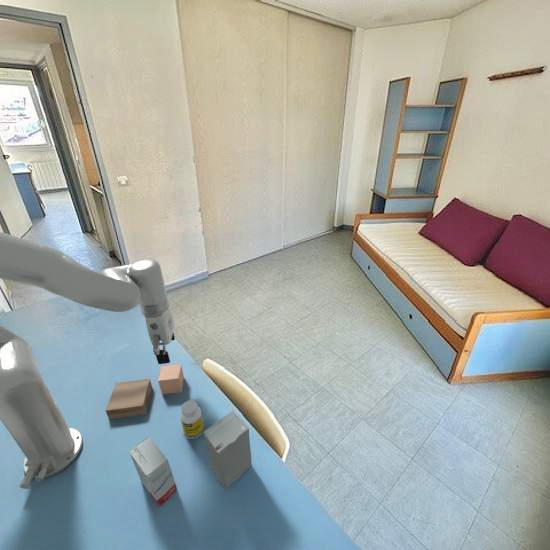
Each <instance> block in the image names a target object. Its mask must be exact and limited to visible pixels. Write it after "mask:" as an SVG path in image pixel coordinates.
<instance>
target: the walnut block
mask: <svg viewBox="0 0 550 550" xmlns="http://www.w3.org/2000/svg"><path fill="white" fill-rule="evenodd" d="M152 389H153V385H152V381H151V379H150V378H145V379H137V380H130V381H120V382H116V383H115V385H114V387H113V390H112V393H111V395H110V398H109V400H108V402H107V405H106V409H105V413H106V416H107V418H108V420H113V419H121V418H126V417H134V416H139V415H140V416H141V415H142V416H143V415H146V413H147V408H148V405H149V401H150V396H151V392H152Z"/></svg>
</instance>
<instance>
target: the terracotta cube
mask: <svg viewBox="0 0 550 550" xmlns="http://www.w3.org/2000/svg"><path fill="white" fill-rule="evenodd" d="M184 379H185V376H184V371H183V367H182V364H181V363H180V364H178V363H177V364H171V365H163V366H161V368H160V373H159V377H158V379H157V382H158V385H159V389H160V393H161V395H167V394H176V393H177V394H178V393H182V392H183V387H182V386H183V385H184Z"/></svg>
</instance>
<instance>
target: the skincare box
mask: <svg viewBox="0 0 550 550" xmlns="http://www.w3.org/2000/svg"><path fill="white" fill-rule="evenodd" d="M203 436H204V441H205V446H206V449H207V455H208V459H209V463H210V469H211V471H212V472H213V473H214V475H215V477H216V478H217V480H218V481H219V482H220V484H221V485H222V486H223V488H224V489H225V490H226V489H228V488H229V487H230V486H231V485H232V484H233V483H234V482H235V481H236V480H237V479H239V478H240V477H241V476H242V475H243V474H244V473H246V471H248V470H249V468H251V467H252V451H251V441H250V438H251V437H250V428H249V426H248V425H246V423H245V422H244V421H243V420H242V419H241V418H240V417H239V416H238V415H237V413H236V412H235V411H234V410H232V411H230V412H229V413H227V414H226V415H225V416H223V417H222V418H220V419H219V420H217V421H216V422H215V423H213V424H212V425H211V426H209V427H208V428H206V429H205V430H203Z"/></svg>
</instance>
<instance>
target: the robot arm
mask: <svg viewBox="0 0 550 550" xmlns="http://www.w3.org/2000/svg"><path fill="white" fill-rule="evenodd" d="M0 280H4V281H9V282H12V283H13V282H14V283H19V284H23V285H25V286H31V287H35V288H40V289H42V290H45V291H47V292H49V293H52V294H54V295H55V296H59V297H62V298H64V299H67V300H70V301H72V302H75V303H77V304H80V305H82V306H83V305H84V306H86V307H90V308H93V309H99V310H102V311H103V310H104V311H109V312H114V313H124V312H125V313H126V312H129V311H132V310H133V309H135V308H136V307H137V306H138V307H139V310H140V313H141V315H142V316H144V318H145V319H144V320H145V324H146V329H147V334H148V337H149V338H148V339H149V340H150V344H151V345H152V347H153V348H152V352H153V353H154V355H155V358H156V361H157V364H158V365H165V364H170V363H171V360H170V359H171V358H170V355H169V352H168V351H167V345H170V344H171V342H172V341H175V338H176V337H175V332H174V328H175V322H174V318H173V315H172V311H171V307H170V301H169V297H168V293H167V289H166V286H165V281H164V277H163V273H162V268H161V265H160V263H159V262H158V261H156V260H154V259H149V258H148V259H141V260H137V261H135V262H133V263H132V264H126V265H125V264H124V265H120V266H112V267H109V268H105V269H103V270H101V271H99V272H97V271H95V270H92V269H91V268H88V267H86V266H85V265H83V264H82V263H80V262H78V261H77V260H76V259H74V258H73V257H71V256H69V255H68V254H67V253H64V252H62V251H61V250H58V249H56V248H54V247H52V246H51V247H50V246H47V245H44V244H41V243H37V242H34V241H31V240H27V239H25V238H22V237H19V236H15V235H12V234H9V233H6V232H3V231H0ZM160 346H162V349H161V348H160ZM34 353H35V352H34V351H33V348H32V346H31V345H30V344H29V342H27V340H25V339H24V338H23V337H21V336H19V335H18V334H16V333H14V332H13V331H12V330H10V329H8V328H6V327H5V326H4V325H1V324H0V421H1V422H2V424H3V425H4V427H5V428H6V430H7V431H8V432H9V434H10V435H11V437H12V438H13V441H15V443H16V444H17V446H18V447H19V449H20V450H21V453H23V454H24V457H25V458H24V459H23V464H22V467H23V470H24V473H25V477H23V479H22V481H21V483H20V485H19V488H21V489H23V490H26V489H29V488H30V487H31V485H32V483H33V481H34V479H36V481H38V482H39V481H40V482H41V481H43V480H44V479H47V478H48V477H52V476H54V475H56V474H58V473H60V472H61V471H63V470H64V469H65V468H67V467H68V466H69V465H70V464H71V463H73V461H74V460H75V459H76V457H77V456H78V455H79V453H80V452H81V449H82V447H83V443H84V442H83V436H82V434H81V432H79V430H77V429H75V428H70V427H69V425H68V423H67V421H66V419H65V418H64V415H63V414H62V411H60V408H59V406H58V404H57V403H56V401H55V399H54V397H53V395H52V393H51V392H50V390H49V388H48V386H47V385H46V382H45V381H44V378H43V377H42V374H41V372H40V370H39V366H38V363H37V360H36V357H35V354H34Z"/></svg>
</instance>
